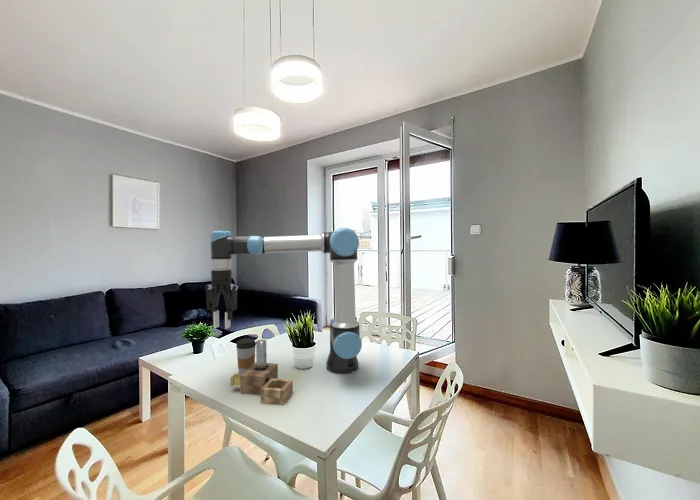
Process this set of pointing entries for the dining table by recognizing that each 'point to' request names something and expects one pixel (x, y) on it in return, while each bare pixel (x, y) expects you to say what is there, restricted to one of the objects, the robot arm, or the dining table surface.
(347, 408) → the dining table surface
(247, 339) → the coffee cup
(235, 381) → the drift key
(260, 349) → the grey metal rod
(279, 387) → the block
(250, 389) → the socket block
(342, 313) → the robot arm
